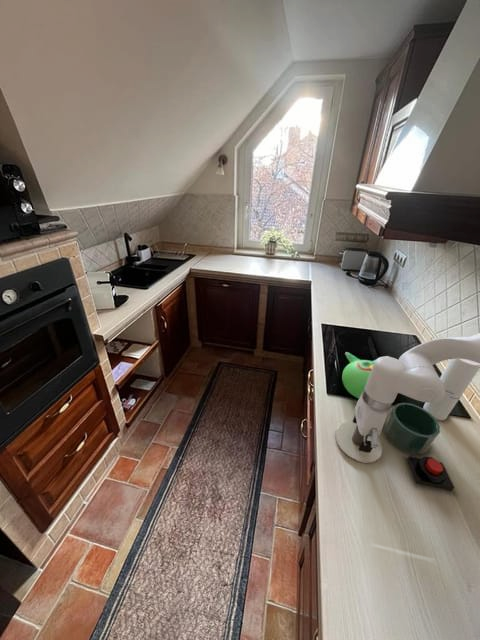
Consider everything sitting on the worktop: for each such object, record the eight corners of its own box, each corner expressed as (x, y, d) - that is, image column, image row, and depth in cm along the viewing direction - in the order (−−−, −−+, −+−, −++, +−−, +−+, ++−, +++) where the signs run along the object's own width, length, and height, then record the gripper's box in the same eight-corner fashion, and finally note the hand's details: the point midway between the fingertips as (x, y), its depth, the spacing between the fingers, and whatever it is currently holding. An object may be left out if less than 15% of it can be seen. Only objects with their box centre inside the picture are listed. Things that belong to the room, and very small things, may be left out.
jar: (418, 423, 87) (429, 406, 83) (435, 458, 76) (448, 441, 72) (380, 416, 89) (387, 399, 85) (390, 449, 78) (400, 432, 74)
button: (436, 463, 72) (439, 459, 71) (442, 476, 69) (445, 472, 68) (422, 460, 73) (425, 457, 72) (428, 473, 70) (430, 470, 69)
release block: (439, 465, 75) (444, 458, 73) (451, 491, 69) (457, 484, 67) (406, 459, 76) (410, 452, 74) (415, 483, 70) (420, 476, 68)
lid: (374, 428, 85) (381, 414, 81) (386, 468, 73) (395, 454, 70) (332, 420, 87) (337, 406, 83) (337, 458, 76) (343, 444, 72)
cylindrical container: (424, 400, 96) (454, 347, 83) (446, 410, 92) (482, 356, 79) (422, 413, 91) (454, 359, 78) (446, 423, 87) (484, 368, 74)
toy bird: (340, 404, 93) (350, 374, 86) (336, 373, 107) (344, 345, 100) (393, 414, 90) (408, 384, 82) (382, 381, 104) (394, 353, 96)
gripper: (357, 374, 78) (344, 411, 86) (370, 421, 63) (353, 460, 72) (383, 378, 76) (367, 415, 85) (403, 427, 62) (381, 466, 71)
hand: (360, 436), depth 78 cm, fingers open, 9 cm apart
